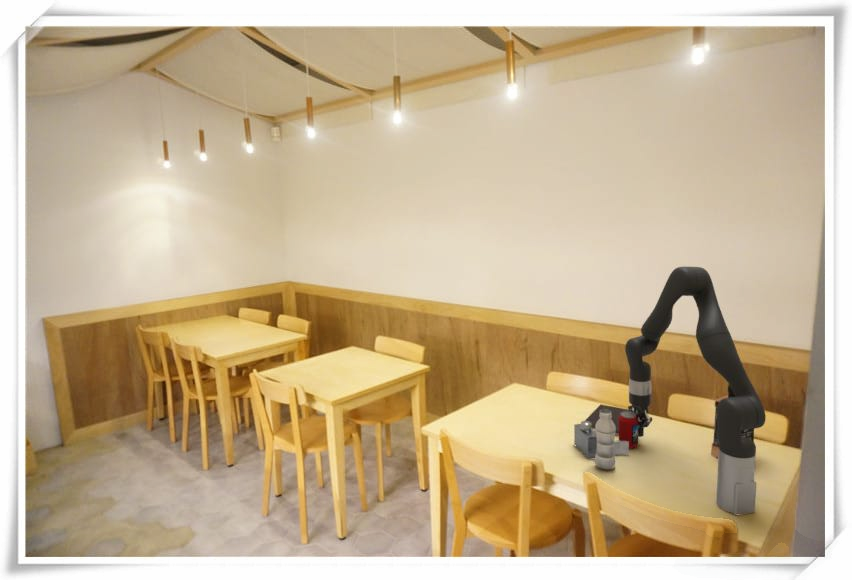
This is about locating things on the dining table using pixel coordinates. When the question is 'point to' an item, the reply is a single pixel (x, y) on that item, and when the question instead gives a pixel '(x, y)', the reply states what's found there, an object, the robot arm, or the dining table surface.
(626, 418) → the beverage can
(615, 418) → the hardcover book
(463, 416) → the dining table surface
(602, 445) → the plastic bottle
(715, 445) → the whiskey bottle
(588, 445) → the motor housing
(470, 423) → the dining table surface
